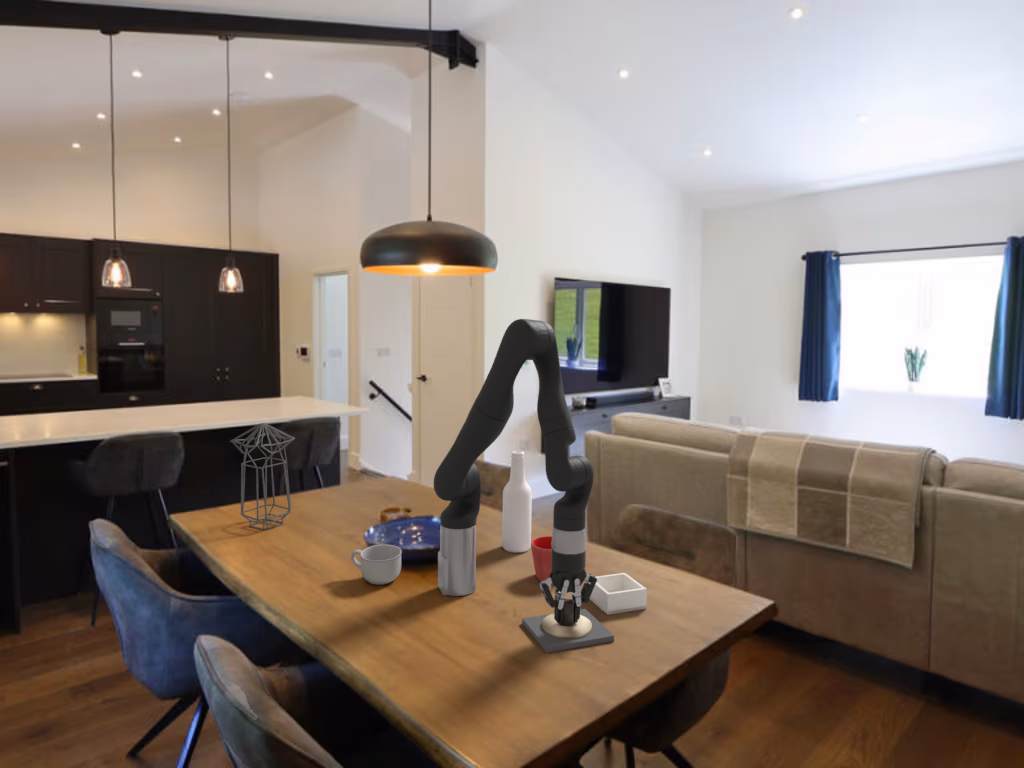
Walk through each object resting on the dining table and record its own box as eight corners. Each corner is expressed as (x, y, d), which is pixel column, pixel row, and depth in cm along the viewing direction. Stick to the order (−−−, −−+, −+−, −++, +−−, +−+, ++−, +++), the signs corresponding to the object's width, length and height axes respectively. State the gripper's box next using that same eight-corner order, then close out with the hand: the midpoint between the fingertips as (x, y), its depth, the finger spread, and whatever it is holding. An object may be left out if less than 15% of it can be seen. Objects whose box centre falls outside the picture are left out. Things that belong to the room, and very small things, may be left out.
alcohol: (531, 544, 199) (533, 449, 196) (529, 554, 190) (531, 455, 187) (503, 542, 200) (505, 448, 197) (500, 552, 191) (501, 454, 188)
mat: (546, 652, 132) (546, 647, 132) (522, 623, 145) (522, 618, 145) (614, 641, 138) (614, 635, 138) (585, 613, 151) (585, 608, 151)
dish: (607, 614, 150) (607, 594, 150) (587, 596, 160) (587, 577, 160) (646, 608, 154) (646, 588, 153) (624, 591, 164) (624, 572, 163)
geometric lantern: (300, 523, 216) (297, 422, 212) (260, 537, 203) (256, 429, 199) (270, 515, 225) (267, 417, 221) (230, 527, 211) (226, 424, 207)
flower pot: (568, 586, 166) (569, 550, 166) (527, 582, 169) (527, 547, 168) (572, 571, 177) (573, 537, 176) (533, 568, 179) (534, 534, 178)
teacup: (409, 576, 172) (409, 548, 171) (385, 591, 162) (385, 561, 161) (367, 568, 177) (367, 540, 177) (342, 581, 168) (341, 552, 167)
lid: (554, 642, 134) (555, 615, 134) (534, 619, 145) (535, 595, 144) (600, 634, 138) (601, 608, 138) (578, 612, 149) (578, 588, 148)
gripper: (546, 556, 134) (544, 634, 135) (605, 549, 139) (603, 625, 140) (532, 544, 141) (531, 619, 142) (589, 538, 146) (587, 610, 147)
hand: (567, 621), depth 141 cm, fingers closed on lid, 3 cm apart
